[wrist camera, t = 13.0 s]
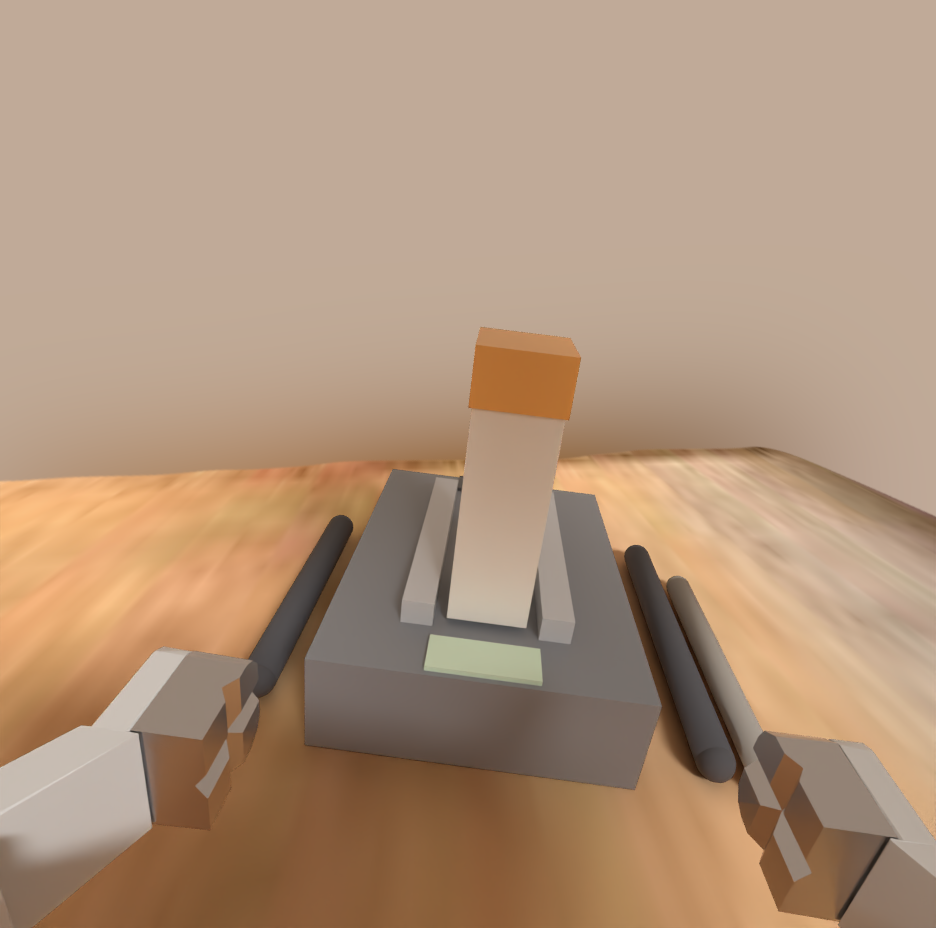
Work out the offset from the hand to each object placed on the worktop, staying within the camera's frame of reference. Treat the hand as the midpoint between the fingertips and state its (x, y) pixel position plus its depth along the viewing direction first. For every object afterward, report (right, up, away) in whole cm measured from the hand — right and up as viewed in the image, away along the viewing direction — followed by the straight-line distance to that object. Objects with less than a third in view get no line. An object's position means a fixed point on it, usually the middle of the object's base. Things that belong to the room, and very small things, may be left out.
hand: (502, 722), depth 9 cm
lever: (0, -1, +13) cm, 14 cm away
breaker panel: (0, -4, +19) cm, 19 cm away
